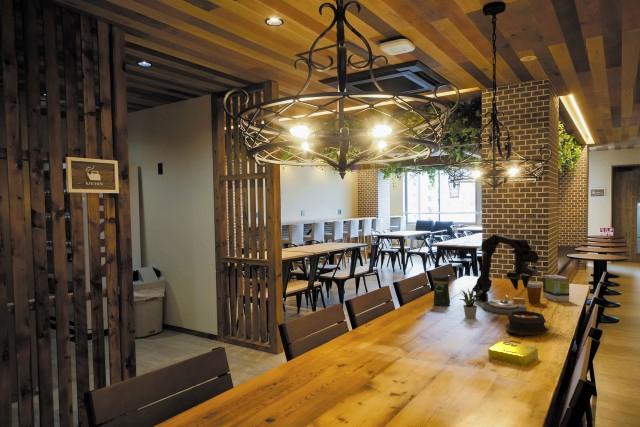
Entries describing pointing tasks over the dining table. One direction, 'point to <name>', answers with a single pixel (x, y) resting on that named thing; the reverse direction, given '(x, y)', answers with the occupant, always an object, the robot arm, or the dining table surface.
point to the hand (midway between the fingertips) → (521, 288)
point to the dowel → (507, 297)
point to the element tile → (513, 353)
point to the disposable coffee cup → (534, 292)
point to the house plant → (470, 304)
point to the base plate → (501, 310)
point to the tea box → (556, 287)
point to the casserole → (526, 323)
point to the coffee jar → (441, 290)
